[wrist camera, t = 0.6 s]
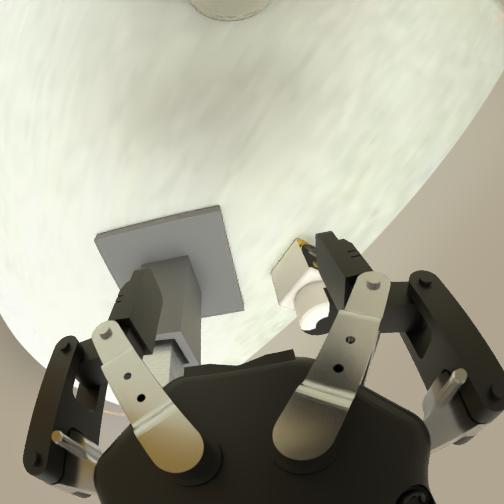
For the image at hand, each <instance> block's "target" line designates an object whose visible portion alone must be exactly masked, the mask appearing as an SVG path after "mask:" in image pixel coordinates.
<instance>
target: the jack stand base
mask: <svg viewBox="0 0 504 504" xmlns="http://www.w3.org/2000/svg"><path fill="white" fill-rule="evenodd" d="M94 242H95V244H96V246H97V248H98V250H99V252H100V254H101V256H102V258H103V260H104V262H105V264H106V265H107V267H108V269H109V271H110V273H111V275H112V277H113V278H114V280H115V282H116V284H117V286H118V287H119V289H120V290H121V288H122V287H123V286H124V285H125V283H126V282H127V281H130V279H131V276H132V274H133V272H134V270H137V269H142V268H146V267H149V268H150V269H151V270H152V273H153V275H154V277H155V280H156V282H157V284H158V286H159V289H160V291H161V293H162V298H163V305H162V310H161V314H160V319H159V324H158V329H157V334H156V339H155V341H157V340H166V339H174V338H175V340H176V342H177V343H178V345H179V347H180V348H181V350H182V352H183V353H184V355H185V360H184V367H189V366H198V365H201V318H204V317H210V316H216V315H222V314H228V313H233V312H239V311H244V304H243V300H242V296H241V292H240V288H239V285H238V281H237V277H236V273H235V269H234V265H233V261H232V257H231V252H230V248H229V244H228V240H227V236H226V232H225V228H224V224H223V219H222V215H221V211H220V207H219V206H214V207H210V208H205V209H200V210H195V211H191V212H186V213H182V214H177V215H173V216H169V217H164V218H160V219H156V220H152V221H148V222H143V223H139V224H135V225H131V226H127V227H124V228H120V229H116V230H112V231H108V232H105V233H101V234H97V236H96V237H95V239H94Z"/></svg>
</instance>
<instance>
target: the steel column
mask: <svg viewBox="0 0 504 504" xmlns="http://www.w3.org/2000/svg"><path fill="white" fill-rule="evenodd" d="M184 360H185V355H184V353H183V352H182V350H181V348H180V347H179V345H178V343H177V342H176V340H175V338H174V339H166V340H157V341H155V344H154V349H153V355H144V356H143V362H144V363H145V365H146V366H147V367H148V369H149V370H150V371H151V373H152V374H153V376H154V377H155V378H156V380H157V381H158V382H159V384H160V385H161V386H162V387H164V386H165V385H166V384H168V383H169V382H171V381H172V380H174V379H176V378H178V377H180V376H183V375H184Z"/></svg>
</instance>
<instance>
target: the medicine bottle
mask: <svg viewBox="0 0 504 504" xmlns="http://www.w3.org/2000/svg"><path fill="white" fill-rule="evenodd" d="M271 276H272V280H273V284H274V288H275V292H276V295H277V299H278V303H279V306H281V307H284V308H287V309H290V310H293V311H296V314H297V317H298V320H299V324H300V327H301V329H302V330H303V331H304V332H305V333H308V334H311V335H322V334H326V333H329V331H330V329H331V327H332V325H333V323H334V321H335V319H336V317H337V314H338V310H337V308H336V306H335V304H334V302H333V300H332V298H331V296H330V294H329V292H328V290H327V288H326V286H325V284H324V282H323V280H322V278H321V276H320V274H319V271H318V267H317V257H316V247H314V246H312V245H310V244H308V243H306V242H304V241H302V240H300V239H296V240H295V241H294V243H293V244H292V245H291V247H290V248H289V249H288V251H287V252H286V253H285V255H284V256H283V257H282V259H281V260H280V261H279V263H278V264H277V265H276V267H275V268H274V269H273V271H272V272H271Z"/></svg>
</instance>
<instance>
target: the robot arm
mask: <svg viewBox="0 0 504 504" xmlns="http://www.w3.org/2000/svg"><path fill="white" fill-rule="evenodd" d="M190 1H191V3H192V5H193V6H194V7H195V8H196V10H198V11H199V12H200V13H202V14H203V15H206V16H208V17H210V18H213V19H217V20H224V21H234V20H241V19H246V18H248V17H251V16H253V15H255V14H257V13H258V12H260V11H261V10H262V9H263V8H264V7H265V6H266V5H267V4H268V2H269V1H270V0H190ZM315 239H316V257H317V267H318V271H319V274H320V276H321V278H322V280H323V282H324V284H325V286H326V288H327V290H328V292H329V294H330V296H331V298H332V300H333V302H334V304H335V306H336V308H337V310H338V314H337V317H336V319H335V321H334V323H333V325H332V327H331V329H330V331H329V334H328V336H327V338H326V340H325V342H324V344H323V346H322V348H321V350H320V352H319V354H318V356H317V358H316V360H315V359H312V358H307V357H295V354H294V351H293V349H292V350H287V351H282V352H278V353H272V354H267V355H264V356H262V357H259V358H257V359H254V360H252V361H249V362H247V363H244V364H241V365H238V366H232V365H217V364H206V365H198V366H189V367H184V375H183V376H180V377H178V378H176V379H174V380H172V381H171V382H169V383H168V384H166V385H165V386H164V387H162V386H161V385H160V384H159V382H158V381H157V380H156V378H155V377H154V376H153V374H152V373H151V371H150V370H149V369H148V367H147V366H146V365H145V363H144V362H143V356H144V355H153V349H154V344H155V339H156V334H157V329H158V324H159V319H160V314H161V310H162V305H163V298H162V293H161V291H160V289H159V286H158V284H157V282H156V280H155V277H154V275H153V273H152V270H151V269H150V268H149V267H146V268H142V269H137V270H134V272H133V274H132V276H131V279H130V281H127V282H126V283H125V285H124V286H123V287H122V288H121V290H120V292H119V294H118V297H117V299H116V303H115V304H114V306H113V309H112V311H111V314H110V317H109V319H108V321H106V322H103V323H101V324H100V325H99V326H97V327H96V329H95V330H94V331H93V333H92V338H91V339H88V340H85V341H83V342H80V343H79V341H78V340H77V339H76V337H74V336H66V337H64V338H63V339H61V340H60V341H59V342H58V343H57V345H56V346H55V348H54V351H53V354H52V356H51V359H50V361H49V364H48V367H47V370H46V373H45V375H44V379H43V381H42V384H41V388H40V391H39V394H38V398H37V401H36V404H35V407H34V411H33V415H32V418H31V422H30V426H29V431H28V435H27V440H26V444H25V449H24V455H23V464H24V467H25V469H26V471H27V472H28V473H29V474H31V475H33V476H35V477H37V478H38V479H41V480H43V481H44V482H45V483H47V484H49V485H51V486H53V487H55V488H57V489H60V490H62V491H64V492H67V493H71V494H74V495H76V496H78V497H81V498H87V497H90V496H91V495H95V496H98V497H99V499H100V502H101V504H436V502H435V500H434V498H433V496H432V494H431V492H430V489H429V484H428V464H429V457H430V454H432V453H434V452H436V451H438V450H440V449H443V448H445V447H446V446H448V445H450V444H452V443H453V444H455V445H461V444H464V443H466V442H468V441H469V440H470V439H471V438H473V437H474V436H475V435H476V434H478V433H479V432H480V431H481V430H483V429H484V428H485V427H486V426H487V425H488V424H489V423H491V422H492V421H493V420H494V419H495V418H496V417H497V416H498V415H499V414H500V413H501V412H503V410H504V371H503V369H502V367H501V366H500V364H499V362H498V361H497V359H496V357H495V355H494V354H493V352H492V351H491V349H490V348H489V346H488V345H487V343H486V341H485V340H484V339H483V337H482V335H481V334H480V333H479V331H478V329H477V328H476V327H475V325H474V324H473V322H472V321H471V319H470V318H469V317H468V315H467V314H466V313H465V311H464V310H463V309H462V307H461V306H460V305H459V303H458V302H457V301H456V299H455V298H454V297H453V296H452V294H451V293H450V292H449V290H448V289H447V288H446V287H445V285H444V284H443V283H442V282H441V281H440V279H439V278H438V277H437V276H436V275H435V274H433V273H431V272H428V271H423V270H421V271H416V272H414V273H412V274H411V275H410V277H409V282H390V279H389V278H388V277H387V276H386V275H384V274H383V273H380V272H374V271H373V270H372V269H371V267H370V266H369V265H368V263H367V262H366V261H365V259H364V258H363V257H362V256H361V254H360V253H359V252H358V251H357V249H356V248H355V247H354V245H353V244H352V243H350V242H348V241H347V240H345V239H341V240H338V239H337V237H336V236H335V235H334V233H333V232H332V231H328V232H323V233H318V234H316V237H315ZM392 332H399V333H400V335H401V337H402V339H403V341H404V343H405V345H406V347H407V349H408V351H409V353H410V355H411V356H412V359H413V361H414V363H415V365H416V367H417V369H418V371H419V373H420V375H421V378H422V380H423V382H424V384H425V386H426V389H427V391H428V392H427V393H426V395H425V396H424V399H423V403H422V407H423V411H424V419H423V421H422V420H421V419H420V418H419V417H418V416H417V415H416V414H414V413H412V412H410V411H409V410H407V409H405V408H403V407H401V406H399V405H397V404H396V403H394V402H392V401H390V400H388V399H386V398H385V397H383V396H381V395H379V394H377V393H376V392H374V391H372V390H370V389H368V388H366V387H365V386H364V384H365V382H366V379H367V375H368V373H369V369H370V366H371V363H372V360H373V357H374V354H375V351H376V348H377V344H378V341H379V338H380V334H381V333H392ZM75 378H76V379H77V380H78V381H79V382H80V383H79V387H78V391H77V395H76V399H75V397H74V395H73V385H74V381H75ZM108 383H109V385H110V387H111V389H112V391H113V393H114V395H115V396H116V398H117V400H118V402H119V404H120V406H121V407H122V409H123V411H124V413H125V414H126V416H127V418H128V419H129V421H130V425H129V426H128V427H127V428H126V429H125V430H124V431H123V432H122V433H121V435H120V436H119V437H118V438H117V439H116V440H115V441H114V442H113V444H111V446H110V447H109V448H108V449H107V450H106V451H105V452H104V453H103V454H102V452H101V450H100V448H99V447H98V444H99V435H100V427H101V420H102V413H103V407H104V401H105V396H106V390H107V385H108Z"/></svg>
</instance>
